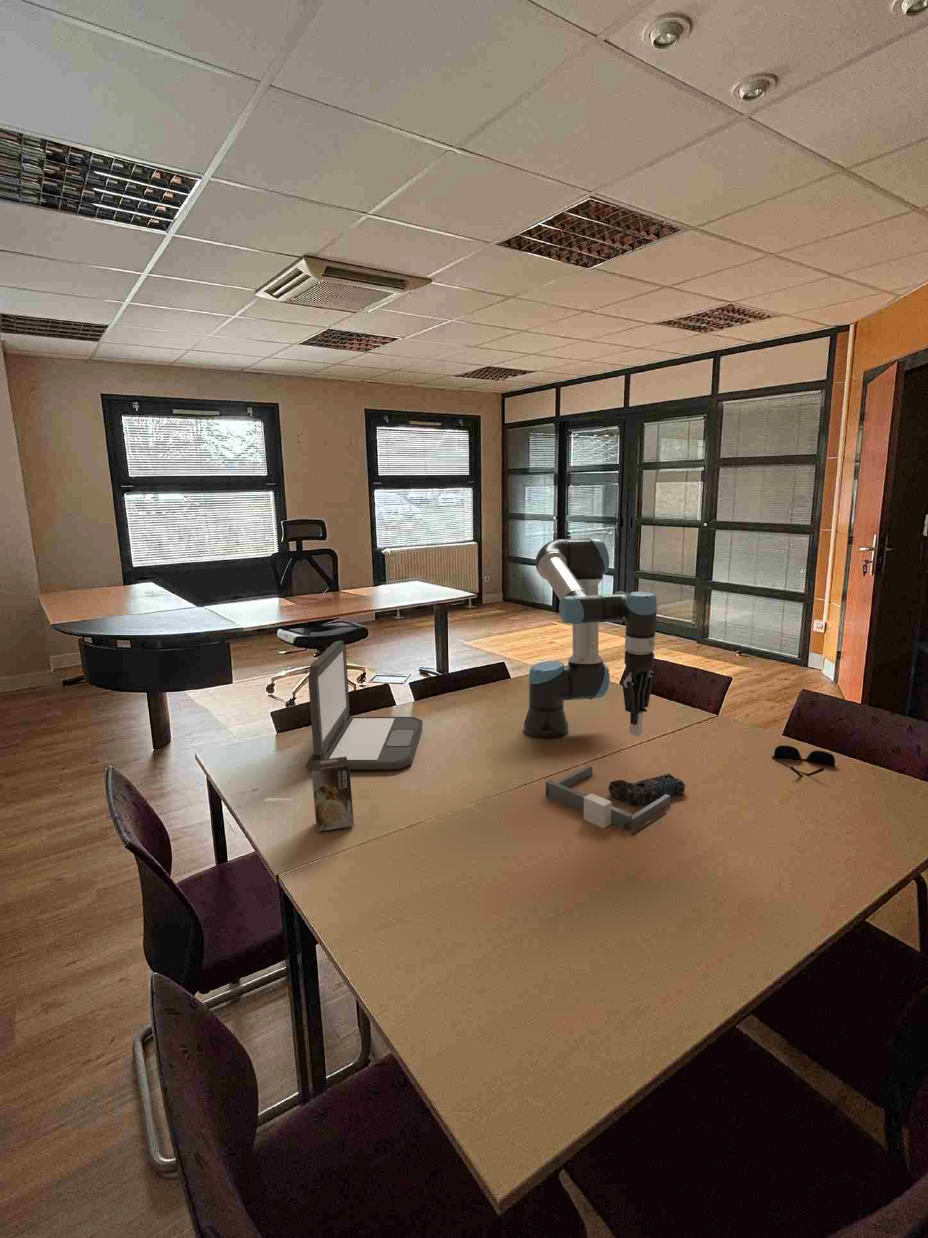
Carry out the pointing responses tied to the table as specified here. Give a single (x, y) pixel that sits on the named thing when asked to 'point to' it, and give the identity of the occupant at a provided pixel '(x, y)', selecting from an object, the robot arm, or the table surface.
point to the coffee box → (332, 793)
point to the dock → (601, 804)
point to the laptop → (354, 721)
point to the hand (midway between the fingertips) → (635, 734)
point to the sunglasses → (813, 757)
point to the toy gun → (646, 789)
